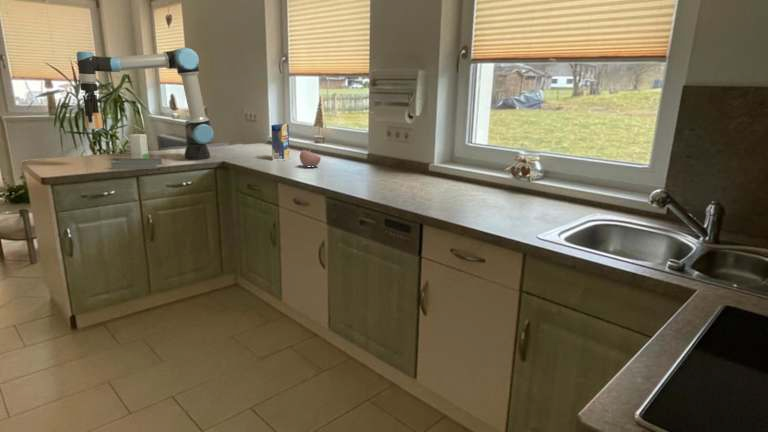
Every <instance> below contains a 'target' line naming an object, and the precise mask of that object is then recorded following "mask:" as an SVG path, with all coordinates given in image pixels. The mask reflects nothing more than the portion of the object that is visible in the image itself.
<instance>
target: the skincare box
mask: <svg viewBox="0 0 768 432" xmlns="http://www.w3.org/2000/svg"><path fill="white" fill-rule="evenodd" d="M128 137H129V145H130V155H131V158H149V149H148V147H149V146H148V139H147V138H148V136H147V134H146V133H144V134H142V133H134V134H128Z"/></svg>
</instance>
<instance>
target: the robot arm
mask: <svg viewBox="0 0 768 432" xmlns="http://www.w3.org/2000/svg"><path fill="white" fill-rule="evenodd" d="M199 59H200V58H199V55H198V54H197V52H196V51H195V50H193V49H191V48H189V47H181V48H178V49H174V50H169V51H164V52H163V53H154V54H153V53H152V54H138V55H137V54H136V55H123V56H98V55H97V56H96V55H95V54H94V53H93V51H83V50H81V51H77V52H76V63H77V70H78V76H77V78H79V83H80V84H79V85H80V90H81V91H84V94H83V95H82V97H83V105H84V113H85V114H84V117H85V116H87V118H88V126H89V129H88V130H96V129H95V124H94V116H93V113H100V111H99V105H98V95H97V94H96V93H95V92H97V91H98V89H99V88H98V84H97V82H98V80H97V73H96V72H103V73H120V72H122V71H125V72H126V71H134V70H136V71H137V70H138V71H139V70H148V69H161V68H162V69H163V68H166V69H167V70H173V69H174V70H176V71H177V75H179V76H180V77H181V81H182V85H183V86H182V87H183V90H184V94H185V100H186V104H187V107H188V108H187V109H188V112H189V113H188V114H189V120H186V121H185V123H184V127H185V128H184V129H185V139H186V141H185V142H186V147H185V150H184V156H183V157H184V159H186V160H187V159H188V160H206V159H210V158H211V153H210V151H209V147H208V145H207V144H208V143H210V142H211V141H212V140H213V139H214V137H215V136H214V135H215V134H214V133H215V132H214V130H213V128H212V126H211V123H210V119H209V118H208V117H207V115H206V110H205V107H204V101H203V97H202V91H201V88H200V82H199V78H198V74H199V73H200V69H199V63H200V60H199Z"/></svg>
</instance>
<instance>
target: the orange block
mask: <svg viewBox="0 0 768 432" xmlns="http://www.w3.org/2000/svg"><path fill="white" fill-rule="evenodd" d="M83 115H84V119H85V121H84V122H85V127H86V128H85V129H87V130H90V129H89V126H88V118H87V116H85V112H84V114H83ZM93 116H94V124H95V129H94V130H101V129H103V128H104V126H103V119H102V113H101V112H99V113H93Z"/></svg>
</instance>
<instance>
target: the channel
mask: <svg viewBox="0 0 768 432" xmlns="http://www.w3.org/2000/svg"><path fill="white" fill-rule="evenodd" d="M162 160H163V158H161V157H160V158H158V157H157V158H156V157H153V158H152V157H151V158H132V157H131V158H129V157H128V158H127V157H125V158H122V157H121V158H118V161H117V162H116V161H113V162H110V165H111V169H113V170H116V169H117V170H119V169H120V170H121V169H122V170H126V169H127V170H130V169H132V170H133V169H135V170H136V169H139V170H140V169H141V170H143V169H146V170H147V169H148V170H149V169H150V170H151V169H158V166H157V165H163V161H162Z"/></svg>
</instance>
